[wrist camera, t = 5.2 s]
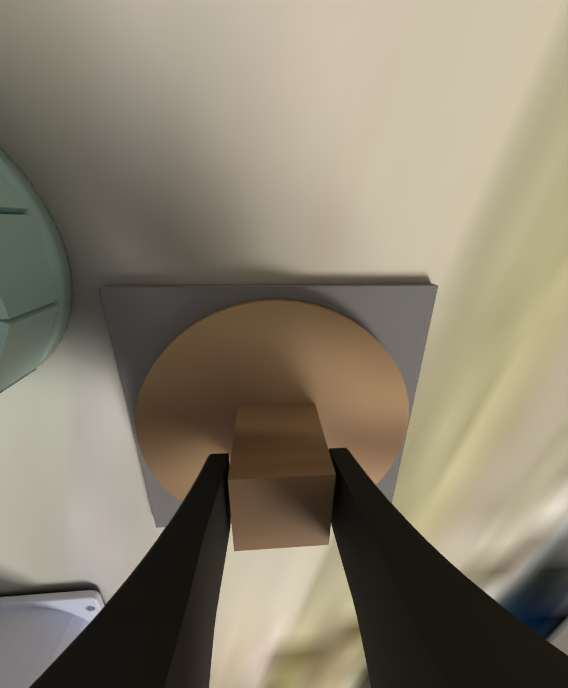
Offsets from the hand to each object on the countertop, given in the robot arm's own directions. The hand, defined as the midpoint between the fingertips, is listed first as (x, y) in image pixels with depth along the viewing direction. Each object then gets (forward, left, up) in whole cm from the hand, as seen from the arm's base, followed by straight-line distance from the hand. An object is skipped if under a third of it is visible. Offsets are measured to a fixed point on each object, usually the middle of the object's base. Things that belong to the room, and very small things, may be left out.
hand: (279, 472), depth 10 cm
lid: (0, 0, -3) cm, 3 cm away
